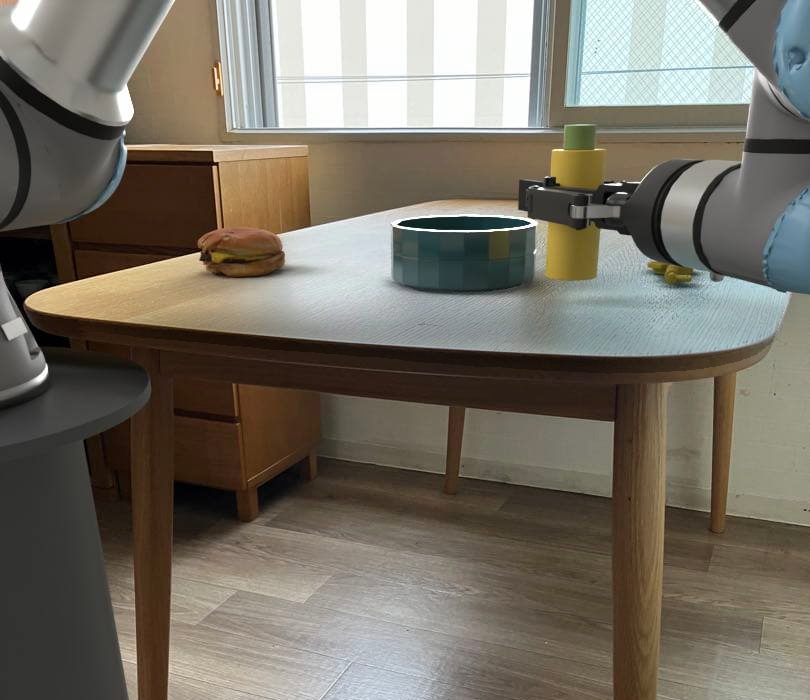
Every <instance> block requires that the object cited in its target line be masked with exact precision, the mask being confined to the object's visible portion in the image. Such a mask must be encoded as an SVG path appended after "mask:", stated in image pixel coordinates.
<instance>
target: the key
mask: <svg viewBox="0 0 810 700" xmlns="http://www.w3.org/2000/svg"><path fill="white" fill-rule="evenodd" d="M646 267H647V268H649V269H652V272H653V273H655V274H657V275H658V274H659V275H664V279H665V280H664V281H665V283H666V285H668V286H674V285H675V284H676V283H677V282H684V283H687V282H689V283H691V282H692V280H693V279H692V278H693V276H692V274H693V273H694V269H692V268H688V267H680V266H675V265H671V264H667V263H662V262H658V261H654V260H652V261H648V262H647V263H646Z"/></svg>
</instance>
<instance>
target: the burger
mask: <svg viewBox="0 0 810 700" xmlns="http://www.w3.org/2000/svg"><path fill="white" fill-rule="evenodd" d="M283 245H284V244H283V241H282V240H281V237H279V236H278V235H277V234H275V233H273V232H272V231H269V230H266V229H262V228H255V227H240V226H238V227H237V226H236V227H235V226H232V227H231V226H230V227H223V228H217V229H214V230H212V231H210V232H207V233H205V234H204V235H202V236H201V237H200V238H199V239H198V241H197V243H196V247H197V248H199V249H200V250H202V251H200V252H199V253H200V256H199V259H198V261H199V262H202V265H203V266H205V271H208V272H211V273H212V274H220V273H223V274H224V275H225V276H228V277H236V278H242V277H255V276H257V277H258V276H263V275H267V274H269V273H272V272H274V271H275V270H279V269H281V268H283V266H285V263H286V259H285V256H286V253H285V251H284V250H283V248H284V246H283Z"/></svg>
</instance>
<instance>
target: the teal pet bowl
mask: <svg viewBox="0 0 810 700" xmlns="http://www.w3.org/2000/svg"><path fill="white" fill-rule="evenodd" d="M537 241H538V222H537V221H535V220H534V219H530V218H524V217H514V216H504V215H487V214H486V215H485V214H483V215H480V214H479V215H478V214H459V215H457V214H456V215H452V214H451V215H450V214H449V215H429V216H418V217H417V216H416V217H408V218H401V219H397V220H395V221H392V222H391V223H390V271H391V273H390V274H391V278H392V280H393V281H394V282H396V283H399V284H402V285H404V286H405V287H407V288H411V289H415V290H420V291H427V292H438V293H453V294H454V293H455V294H456V293H460V294H461V293H463V294H465V293H467V294H468V293H489V292H490V293H491V292H499V291H506V290H510V289H514V288H518V287H520V286H523V285H525V284H527V283H529V282H533V281H534V279H535V276H536V260H537V259H536V258H537V243H538V242H537Z"/></svg>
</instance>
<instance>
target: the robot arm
mask: <svg viewBox="0 0 810 700" xmlns="http://www.w3.org/2000/svg"><path fill="white" fill-rule="evenodd" d="M175 1H176V0H17V2H16V3H15V4H8V5H0V232H7V231H12V230H13V231H14V230H21V229H27V228H33V227H42V226H48V225H59V224H64V223H68V222H70V221H73V220H77V219H78V218H81V217H82V216H84V215H86V214H89V213H91V212H93V211H95V210H96V209H99V207H101V206H102V205H104V204H105V203H106V202H107V201H108V200H109V199H110V197H112V195H113V194H114V193H115V191H116V190H117V188H118V186H119V184H120V183H121V180H122V177H123V175H124V172H125V168H126V165H127V158H128V148H127V147H126V146H125V137H126V134H127V133H126V129H127V128H128V126H129V124H130V122H131V120H132V118H133V116H134V106H133V103H132V100H131V96H130V93H129V92H130V91H129V88H128V82H129V81H130V80H131V79H130V78H131V77H132V75H133V74H134V72H135V71H136V69H137V67H138V65H139V63H140V62H141V60H142V58H143V57H144V54H145V53H146V51H147V50H148V48H149V46H150V45H151V43H152V41H153V39H154V38H155V36H156V34H157V32H158V31H159V29H160V27H161V25H162V24H163V22H164V21H165V19H166V17H167V15H168V14H169V11H170V10H171V8H172V6H174V3H175ZM694 2H696V4H697V5H698V6H699V7H700V8H701V9H702V10H703V11H704V12H705V14H707V15H708V17H710V18H711V20H712V21H714V23H715V24H716V25H717V26H718V27H719V28H720V29H721V30H722V32H723V33H724V34H725V37H726V38H727V39H728V40H729V41H730V42H731V43H732V44H733V46H735V47H736V48H737V50H738V51H739V52H740V53H741V54H742V55H743V56H744V57H745V58H746V59H747V60H748V62H750V64H751V65H752V66H753V73H752V79H751V80H752V81H751V90H750V99H749V107H748V116H747V124H746V133H745V138H744V140H743V147H742V156H741V160H740V161H739V160H724V159H707V160H706V159H692V158H691V159H690V158H672V159H669V160H665V161H663V162H661V163H659V164H657V165H656V166H654V167H653V168H652V169H651V170H650V171H649V172H648V173H647V174H646V175H644V177H643V178H642V180H641V181H627V180H620V182H616V183H615V181H614V180H610V179H609V180H607V179H604V184H602V185H600V186H599V187H598V188H597V189H589V188H576V187H562V186H560V183H556V177H551V176H544V177H543V180H535V179H528V178H527V179H526V178H525V179H524V178H523V179H518V198H517V199H518V200H517V204H518V205H517V211H522V212H527V219H530V220H539V221H542V222H547V223H548V222H553V223H558V224H563V225H568V226H569V227H571V228H574V229H576V230H582V229H584V228H587V227H589V226H591V221H593V222H594V223H595V226H596V227H597V228H599V229H600V230H608V231H615V232H617V233H618V234H619V235H622V236H630V237H631V238H632V241H633V243H634V244H635V246H636V248H637V249H638V250H639V252H640V253H641V254H643V256H645V257H647V258H648V259H650V260H652V261H657V262H662V263H667V264H671V265H675V266H680V267H688V268H692V269H693V270H697V271H702V272H707V273H709V278H710V281H711V282H713V283H719V282H722V281H724V278H725V277H729V278H731V279H736V280H741V281H744V282H747V283H751V284H754V285H759V286H763V287H765V288H766V287H767V288H771V289H773V290H775V291H776V292H778V293H782V294H786V293H795V294H803V295H808V296H809V295H810V0H694ZM39 347H40V346H39V345H38V343H37V341H36V339H35V337H34V335H33V333H32V331H31V329H30V328H29V325H28V323H27V322H26V320H25V318H24V316H23V314H22V312H21V311H20V309H19V308H18V305H17V303H16V301H15V300H14V298H13V296H12V295H11V293H10V291H9V288H8V287H7V285H6V282H5V279H4V275H3V271H2V266H1V264H0V411H3V410H6V409H9V408H12V407H15V406H18V405H21V404H23V403H26V402H28V401H30V400H32V399H34V398H36V397H38V396H40V395H41V394H42V393H44V392H45V391H46V390H47V389H48V388H49V386H50V379H49V373H48V368H47V364H46V362H45V358H44V355H43V353H42V351H41V349H40V348H39Z"/></svg>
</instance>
